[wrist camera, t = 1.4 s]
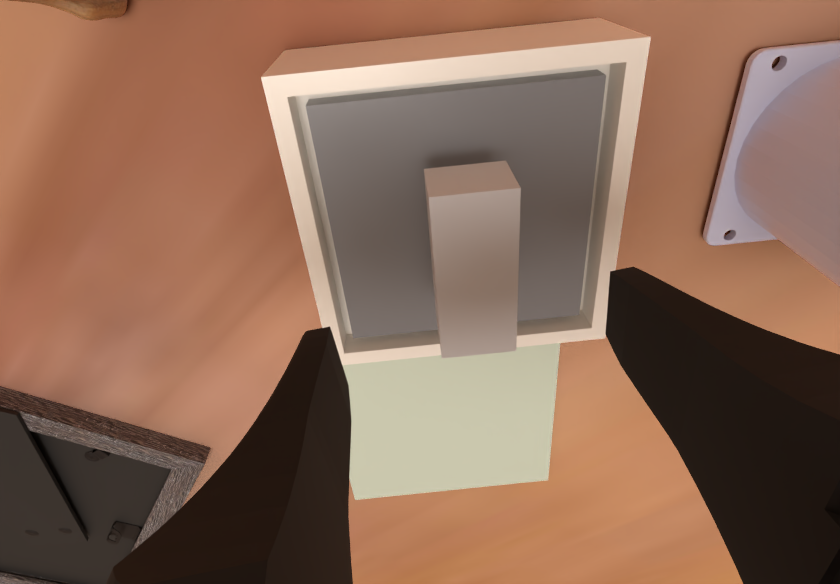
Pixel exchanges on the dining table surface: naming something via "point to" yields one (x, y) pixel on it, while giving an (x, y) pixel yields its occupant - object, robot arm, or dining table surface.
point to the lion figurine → (87, 7)
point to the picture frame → (82, 489)
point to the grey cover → (461, 204)
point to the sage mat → (451, 421)
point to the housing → (444, 65)
